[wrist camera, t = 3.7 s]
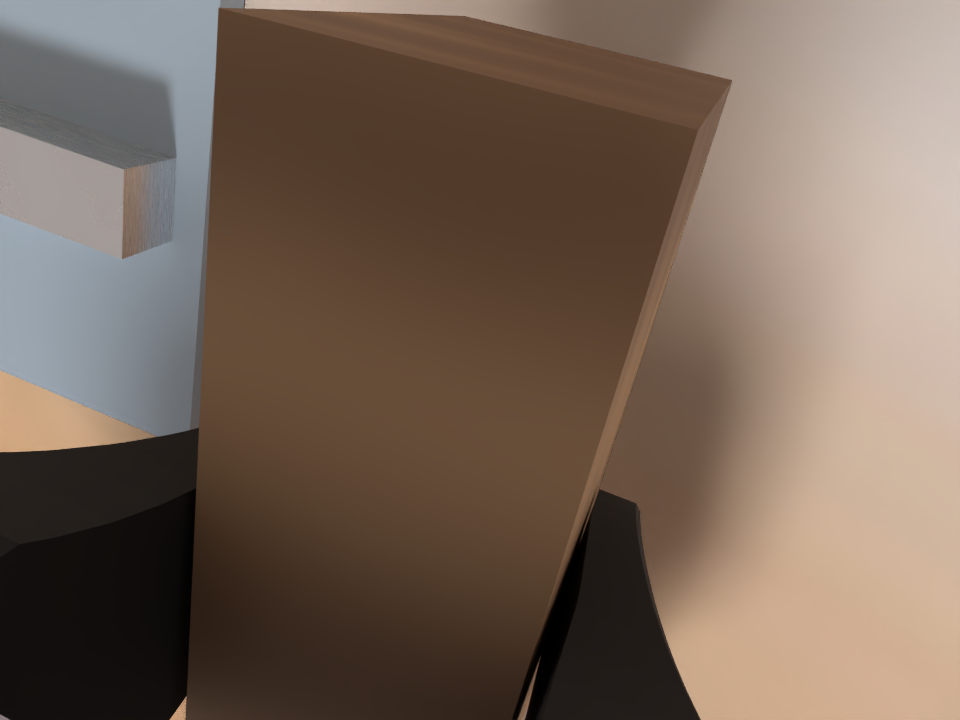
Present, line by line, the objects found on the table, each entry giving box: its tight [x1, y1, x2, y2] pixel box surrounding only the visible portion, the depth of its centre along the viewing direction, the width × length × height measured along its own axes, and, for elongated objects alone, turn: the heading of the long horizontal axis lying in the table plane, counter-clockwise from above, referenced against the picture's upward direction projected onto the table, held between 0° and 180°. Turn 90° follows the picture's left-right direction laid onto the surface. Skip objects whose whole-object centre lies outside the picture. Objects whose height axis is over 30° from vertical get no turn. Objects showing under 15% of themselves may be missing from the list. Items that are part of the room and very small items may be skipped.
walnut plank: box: [186, 8, 732, 720], centre depth 12 cm, size 14×4×6 cm, turn 168°
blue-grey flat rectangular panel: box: [0, 0, 244, 437], centre depth 23 cm, size 16×9×1 cm, turn 166°
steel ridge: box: [0, 98, 177, 259], centre depth 22 cm, size 2×7×2 cm, turn 77°
